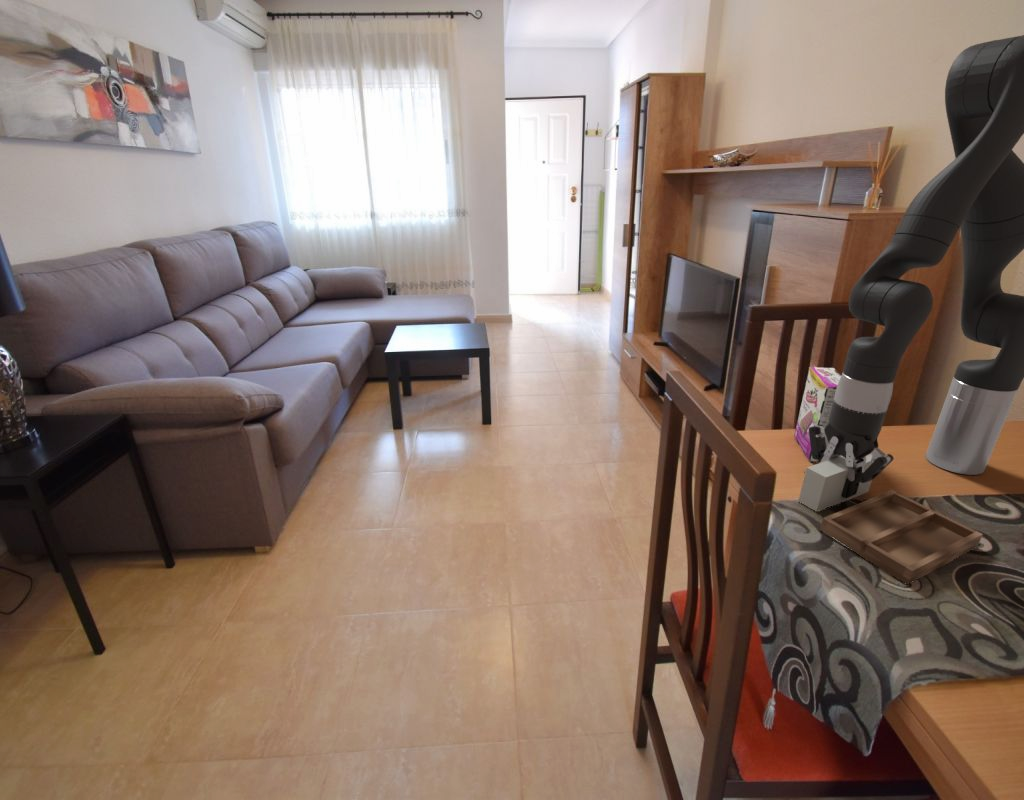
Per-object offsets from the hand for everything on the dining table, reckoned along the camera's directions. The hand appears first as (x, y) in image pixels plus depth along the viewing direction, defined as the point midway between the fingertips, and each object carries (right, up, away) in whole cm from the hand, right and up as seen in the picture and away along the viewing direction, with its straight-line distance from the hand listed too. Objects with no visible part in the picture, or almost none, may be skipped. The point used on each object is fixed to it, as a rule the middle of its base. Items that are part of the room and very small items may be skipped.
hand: (835, 490), depth 93 cm
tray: (+3, -6, -10) cm, 12 cm away
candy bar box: (+5, +5, +16) cm, 18 cm away
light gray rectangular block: (0, -1, +1) cm, 1 cm away
